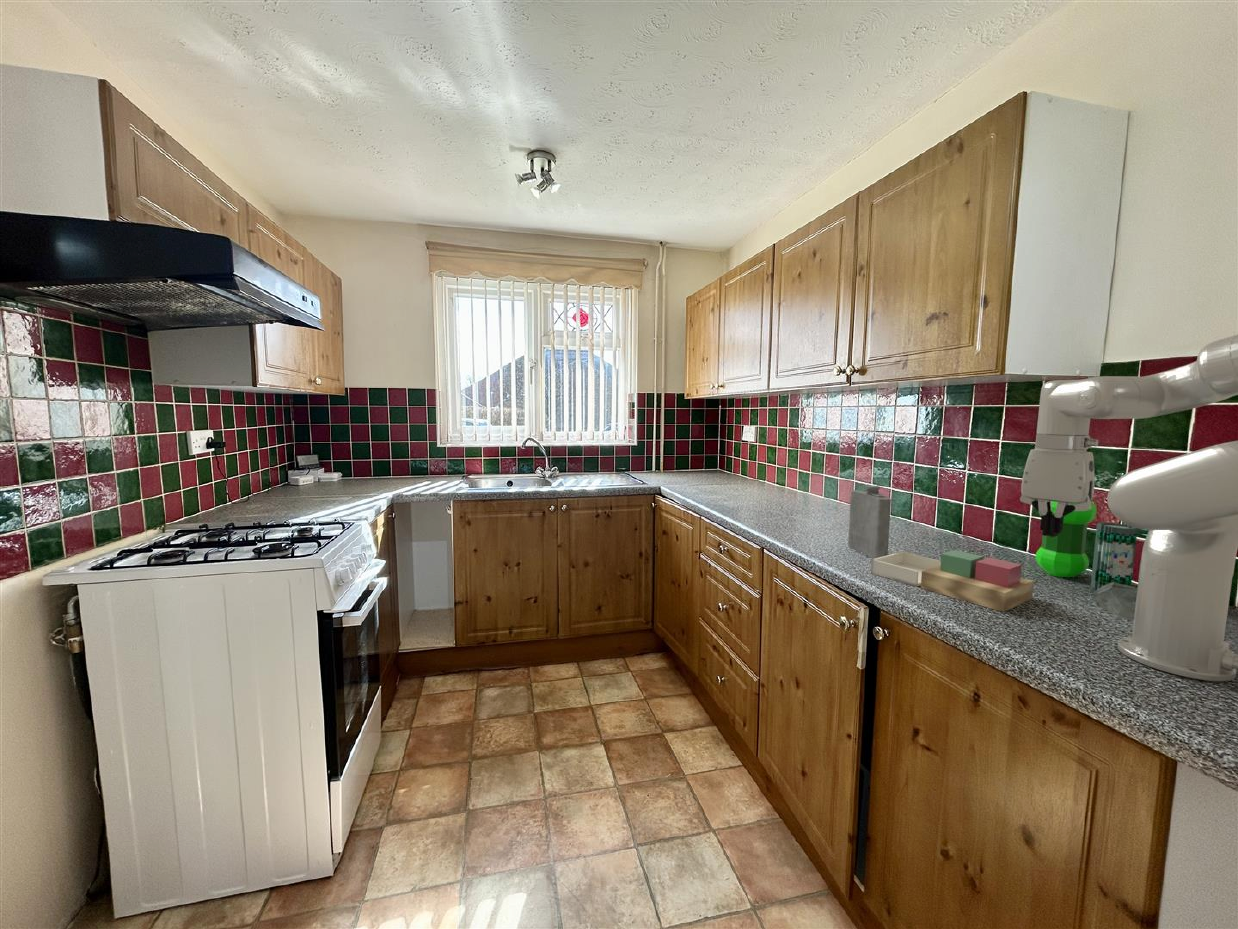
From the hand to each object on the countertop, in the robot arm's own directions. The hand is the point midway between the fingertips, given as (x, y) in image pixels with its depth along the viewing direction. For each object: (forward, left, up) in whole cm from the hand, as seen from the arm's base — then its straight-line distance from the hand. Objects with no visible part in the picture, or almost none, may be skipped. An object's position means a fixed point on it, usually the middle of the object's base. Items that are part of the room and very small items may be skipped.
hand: (1050, 535), depth 96 cm
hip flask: (+42, -8, -16) cm, 46 cm away
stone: (-9, -15, -16) cm, 24 cm away
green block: (+15, 0, -12) cm, 19 cm away
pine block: (+12, 0, -16) cm, 20 cm away
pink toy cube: (+8, 0, -12) cm, 14 cm away
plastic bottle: (+7, -33, -16) cm, 37 cm away
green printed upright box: (-3, -29, -16) cm, 33 cm away
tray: (+27, 0, -16) cm, 31 cm away
